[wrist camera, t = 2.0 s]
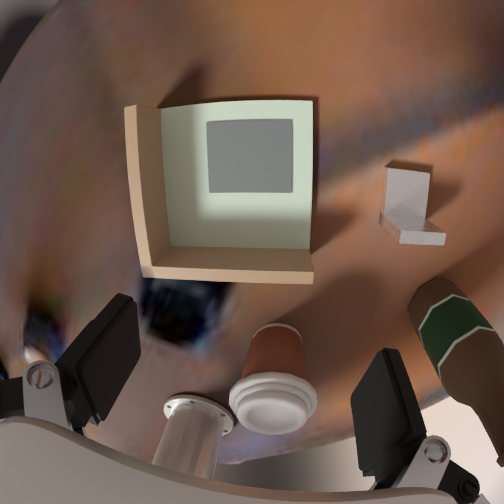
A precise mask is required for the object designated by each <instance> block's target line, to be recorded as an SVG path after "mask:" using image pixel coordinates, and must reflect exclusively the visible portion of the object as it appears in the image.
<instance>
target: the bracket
mask: <svg viewBox="0 0 504 504" xmlns="http://www.w3.org/2000/svg"><path fill="white" fill-rule="evenodd" d="M429 180H430V173H427V172H423V171H416V170H408V169H400V168H391V167H384V174H383V189H382V200H381V211H380V220H379V224H380V225H381V226H382V227H383V228H384V229H385V230H386V231H387V232H388V233H389V234H390V235H391V236H392V237H393V238H394V239H395V240H396V241H397V242H398V243H399V244H422V245H444V243H445V238H446V232H444V231H443V230H441V229H440V228H439V227H437V226H436V225H434V224H433V223H431V222H430V221H428V220H427V219H426V218H425V215H426V207H427V199H428V190H429Z"/></svg>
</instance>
